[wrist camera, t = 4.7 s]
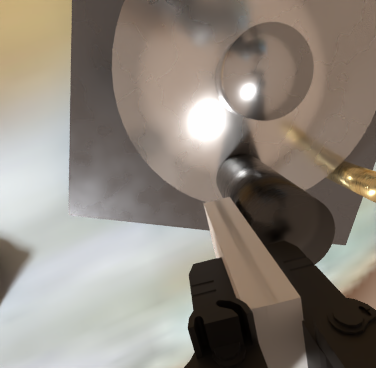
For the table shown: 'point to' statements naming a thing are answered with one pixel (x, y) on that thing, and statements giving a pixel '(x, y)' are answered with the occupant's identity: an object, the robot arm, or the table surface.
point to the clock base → (137, 167)
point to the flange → (249, 102)
